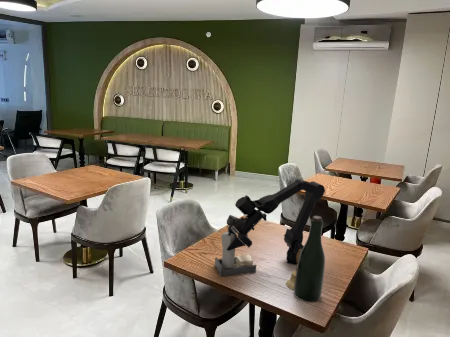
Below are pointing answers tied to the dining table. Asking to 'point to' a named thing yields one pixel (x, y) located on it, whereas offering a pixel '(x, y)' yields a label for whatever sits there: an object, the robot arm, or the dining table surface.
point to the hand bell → (293, 274)
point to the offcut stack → (243, 260)
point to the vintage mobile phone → (227, 256)
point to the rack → (233, 270)
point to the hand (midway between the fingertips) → (225, 246)
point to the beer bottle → (311, 265)
